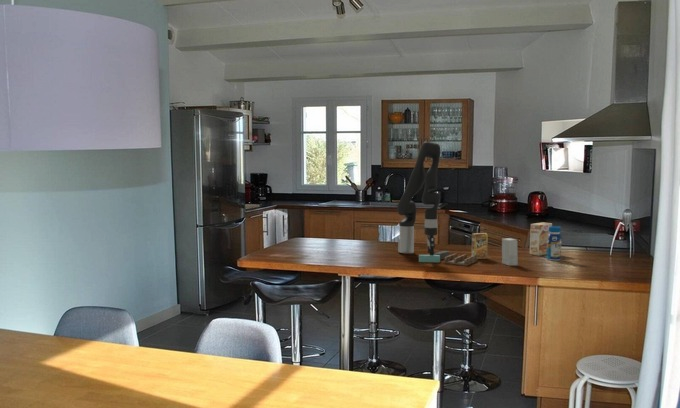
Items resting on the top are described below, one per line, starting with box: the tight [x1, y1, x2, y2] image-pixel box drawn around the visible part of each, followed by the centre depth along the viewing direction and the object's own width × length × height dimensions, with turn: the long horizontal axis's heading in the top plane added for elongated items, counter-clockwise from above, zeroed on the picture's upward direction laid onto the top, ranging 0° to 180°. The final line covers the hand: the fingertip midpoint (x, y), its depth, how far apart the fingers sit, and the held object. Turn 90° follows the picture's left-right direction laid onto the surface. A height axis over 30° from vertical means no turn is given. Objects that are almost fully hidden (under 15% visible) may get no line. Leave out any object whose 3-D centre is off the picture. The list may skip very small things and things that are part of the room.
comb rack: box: [443, 252, 478, 267], centre depth 346 cm, size 18×14×4 cm
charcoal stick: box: [434, 250, 451, 261], centre depth 358 cm, size 12×4×4 cm, turn 137°
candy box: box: [470, 232, 489, 260], centre depth 358 cm, size 9×4×15 cm, turn 107°
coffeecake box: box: [529, 221, 553, 257], centre depth 376 cm, size 15×7×20 cm, turn 131°
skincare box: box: [501, 237, 519, 266], centre depth 340 cm, size 8×6×15 cm
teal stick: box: [418, 254, 441, 263], centre depth 347 cm, size 12×4×4 cm, turn 88°
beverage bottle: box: [546, 225, 563, 262], centre depth 355 cm, size 8×8×20 cm
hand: (430, 254), depth 347 cm, fingers open, 8 cm apart
